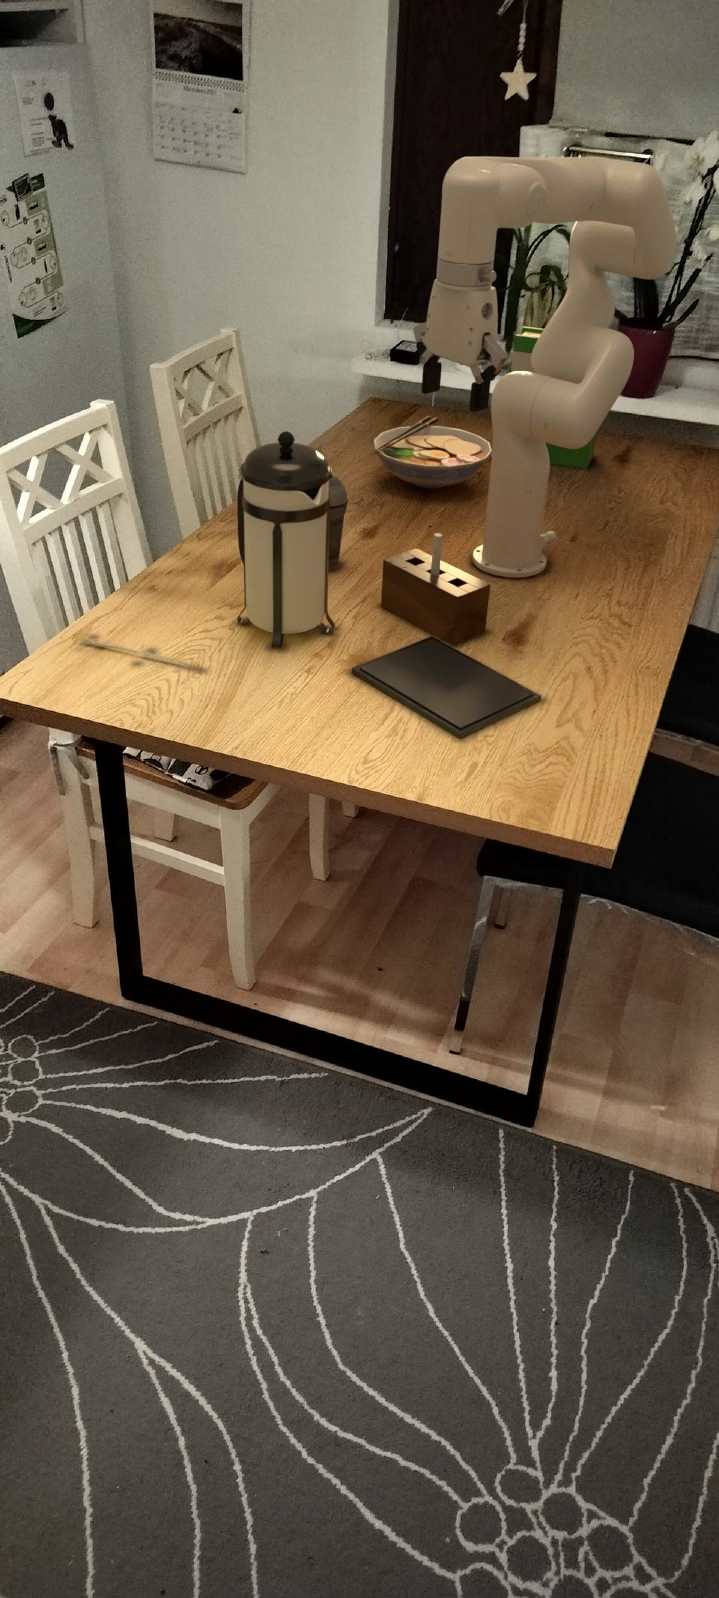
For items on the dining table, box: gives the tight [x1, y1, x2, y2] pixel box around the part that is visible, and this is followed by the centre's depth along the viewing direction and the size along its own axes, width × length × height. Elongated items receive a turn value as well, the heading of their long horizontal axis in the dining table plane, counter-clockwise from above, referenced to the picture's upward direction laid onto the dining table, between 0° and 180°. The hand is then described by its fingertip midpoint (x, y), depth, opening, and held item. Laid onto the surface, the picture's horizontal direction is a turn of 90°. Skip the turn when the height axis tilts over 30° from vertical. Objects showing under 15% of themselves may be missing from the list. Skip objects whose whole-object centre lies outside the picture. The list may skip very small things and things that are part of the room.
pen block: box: [380, 548, 491, 646], centre depth 183 cm, size 7×16×8 cm, turn 41°
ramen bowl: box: [369, 415, 493, 489], centre depth 230 cm, size 25×23×8 cm
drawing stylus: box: [431, 532, 443, 576], centre depth 181 cm, size 1×1×14 cm
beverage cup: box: [317, 447, 349, 572], centre depth 194 cm, size 7×7×20 cm
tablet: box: [351, 636, 542, 739], centre depth 168 cm, size 22×16×1 cm
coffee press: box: [236, 430, 336, 649], centre depth 173 cm, size 17×16×30 cm
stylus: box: [84, 637, 193, 668], centre depth 172 cm, size 4×1×19 cm
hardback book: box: [510, 325, 598, 470], centre depth 239 cm, size 18×7×24 cm, turn 71°
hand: (454, 400), depth 170 cm, fingers open, 9 cm apart
